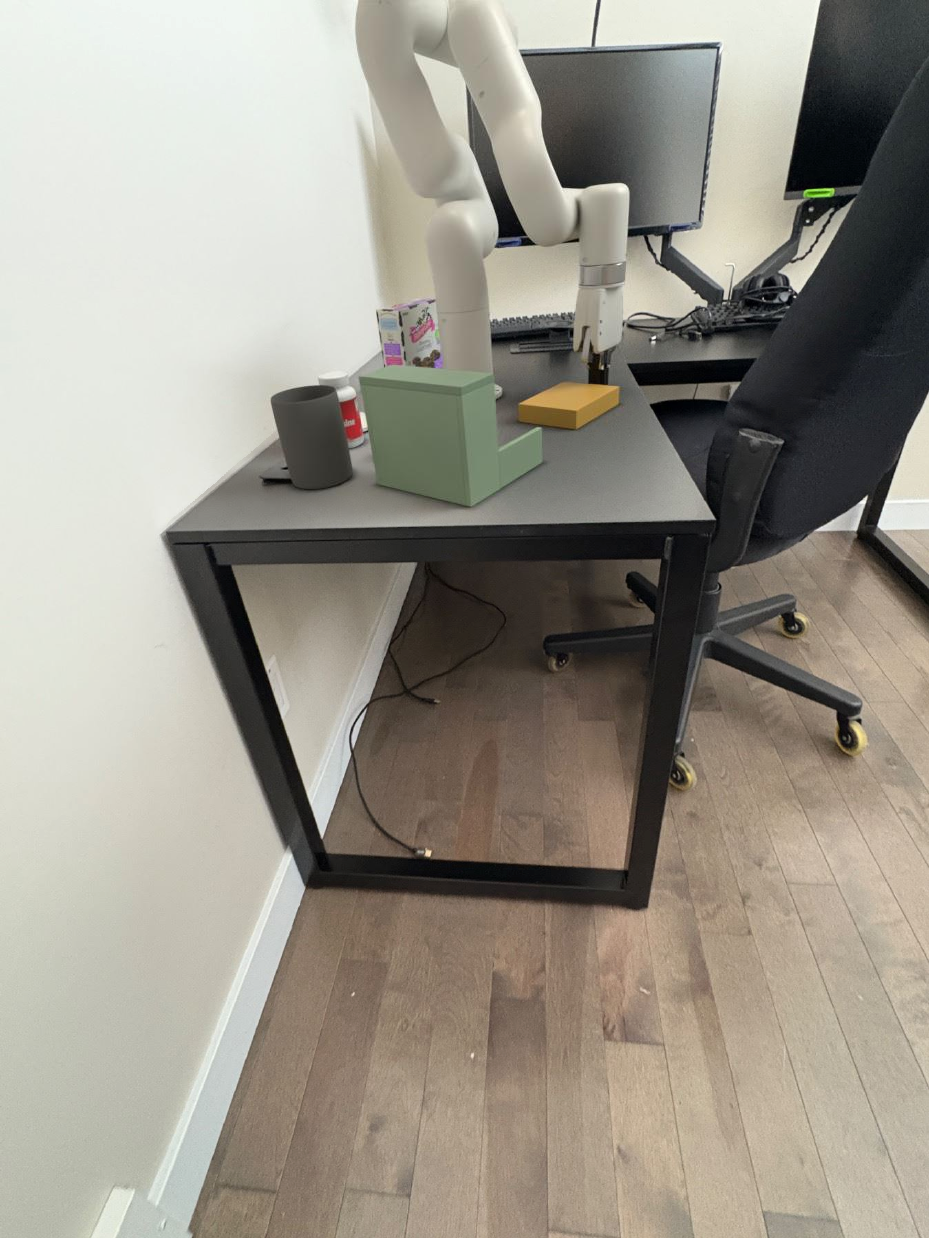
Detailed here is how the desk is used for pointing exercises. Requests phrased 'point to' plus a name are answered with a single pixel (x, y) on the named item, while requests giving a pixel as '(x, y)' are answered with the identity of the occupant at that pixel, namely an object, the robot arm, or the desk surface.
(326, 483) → the mug
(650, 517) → the desk surface
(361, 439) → the pill bottle
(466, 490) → the green block
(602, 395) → the orange flat block
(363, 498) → the desk surface
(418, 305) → the candy box
